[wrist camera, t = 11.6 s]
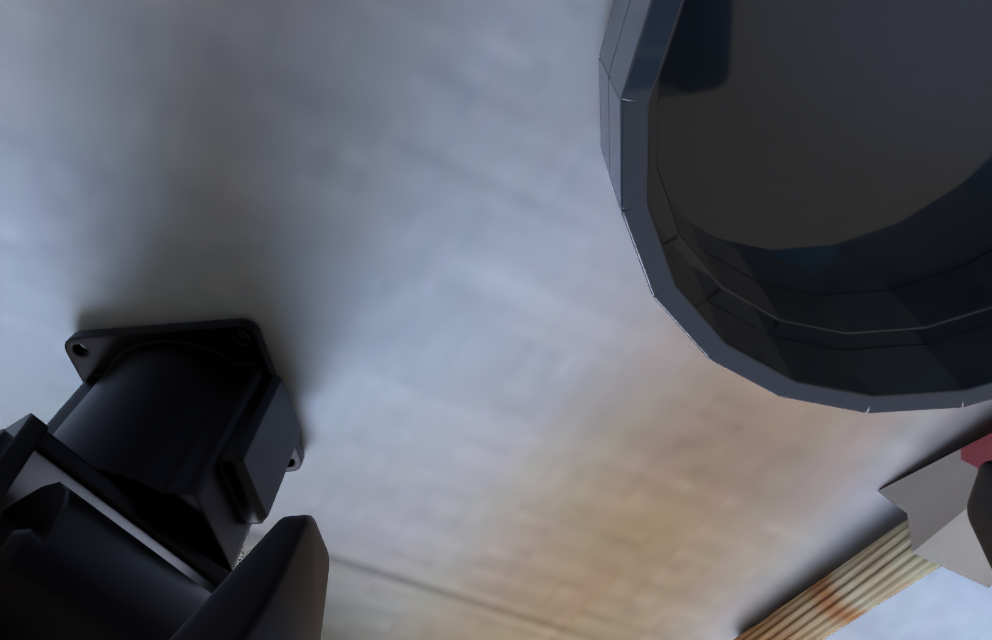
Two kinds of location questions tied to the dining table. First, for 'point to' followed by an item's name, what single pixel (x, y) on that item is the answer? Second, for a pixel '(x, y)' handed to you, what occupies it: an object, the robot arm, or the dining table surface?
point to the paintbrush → (895, 551)
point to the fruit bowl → (812, 189)
